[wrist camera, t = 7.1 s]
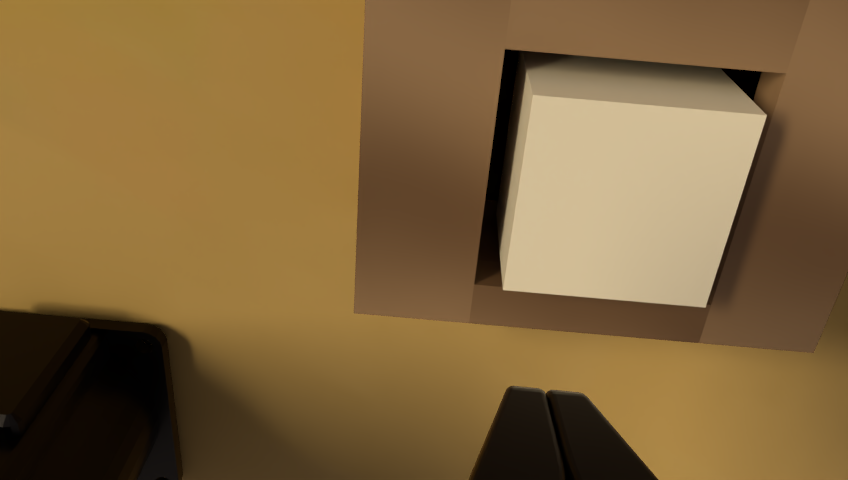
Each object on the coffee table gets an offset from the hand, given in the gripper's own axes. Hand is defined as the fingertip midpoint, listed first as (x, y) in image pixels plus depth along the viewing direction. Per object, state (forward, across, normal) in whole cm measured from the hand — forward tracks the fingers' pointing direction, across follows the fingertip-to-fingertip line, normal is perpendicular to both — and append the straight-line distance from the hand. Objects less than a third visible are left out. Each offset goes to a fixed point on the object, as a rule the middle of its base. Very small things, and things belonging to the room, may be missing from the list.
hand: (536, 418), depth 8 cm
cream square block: (+9, -2, 0) cm, 10 cm away
